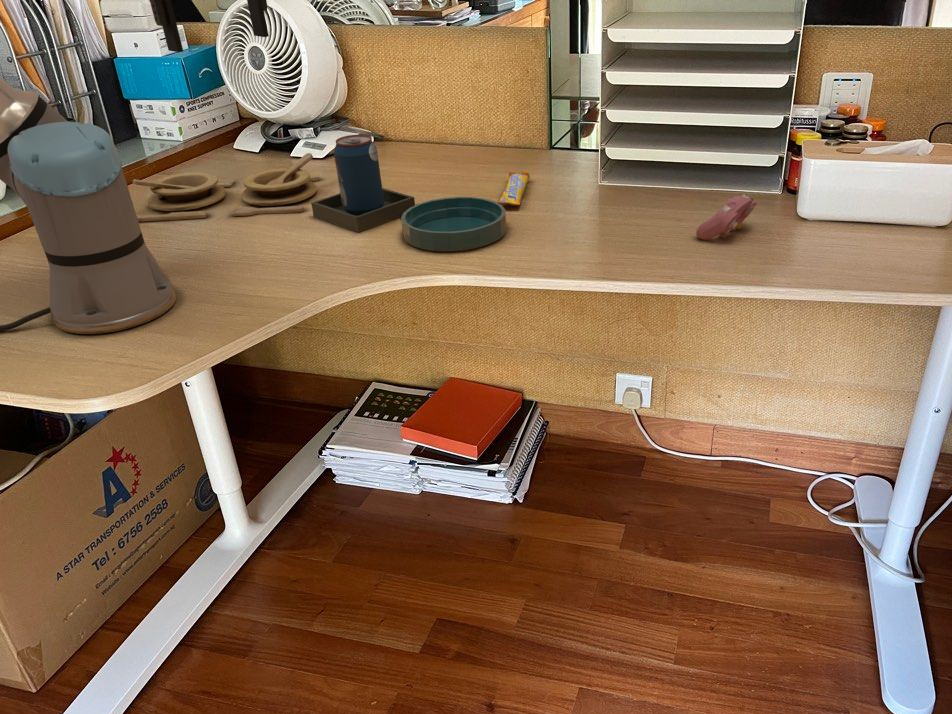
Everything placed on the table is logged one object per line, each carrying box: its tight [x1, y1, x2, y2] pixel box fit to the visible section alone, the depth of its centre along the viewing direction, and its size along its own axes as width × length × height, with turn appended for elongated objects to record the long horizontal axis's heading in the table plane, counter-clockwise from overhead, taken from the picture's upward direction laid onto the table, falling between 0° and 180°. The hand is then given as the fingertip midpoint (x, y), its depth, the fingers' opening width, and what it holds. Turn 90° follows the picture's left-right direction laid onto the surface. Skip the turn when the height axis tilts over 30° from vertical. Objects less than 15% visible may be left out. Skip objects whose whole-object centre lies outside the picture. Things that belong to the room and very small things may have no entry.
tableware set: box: [132, 152, 320, 223], centre depth 149 cm, size 30×20×6 cm, turn 94°
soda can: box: [333, 134, 384, 216], centre depth 138 cm, size 7×7×12 cm
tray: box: [310, 187, 416, 233], centre depth 141 cm, size 12×12×2 cm
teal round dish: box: [400, 196, 508, 252], centre depth 132 cm, size 16×16×3 cm
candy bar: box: [496, 171, 531, 207], centre depth 147 cm, size 17×4×2 cm, turn 174°
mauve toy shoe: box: [695, 193, 758, 240], centre depth 127 cm, size 10×5×7 cm, turn 143°
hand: (220, 43), depth 120 cm, fingers open, 13 cm apart
